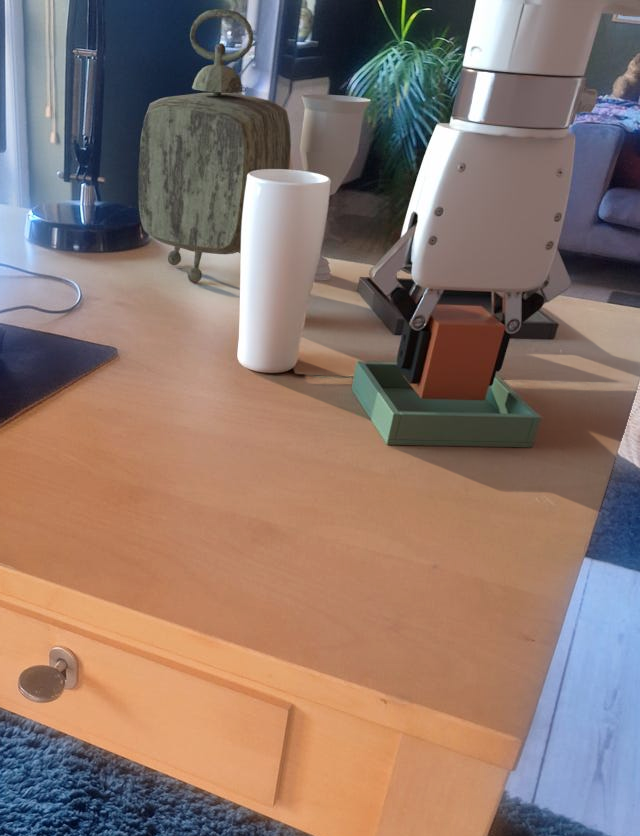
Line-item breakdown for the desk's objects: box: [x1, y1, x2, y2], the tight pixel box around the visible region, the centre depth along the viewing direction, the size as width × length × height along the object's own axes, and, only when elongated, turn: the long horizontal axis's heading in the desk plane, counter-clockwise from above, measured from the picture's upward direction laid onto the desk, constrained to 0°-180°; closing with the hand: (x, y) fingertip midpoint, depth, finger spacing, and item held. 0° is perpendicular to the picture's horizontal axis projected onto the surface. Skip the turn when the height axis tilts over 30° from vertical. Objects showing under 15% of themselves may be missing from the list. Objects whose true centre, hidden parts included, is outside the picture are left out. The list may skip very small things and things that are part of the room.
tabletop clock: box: [137, 8, 292, 284], centre depth 92 cm, size 14×9×25 cm, turn 59°
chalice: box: [299, 93, 371, 281], centre depth 97 cm, size 7×7×18 cm
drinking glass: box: [236, 169, 331, 374], centre depth 73 cm, size 7×7×15 cm
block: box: [404, 304, 505, 400], centre depth 66 cm, size 5×5×6 cm
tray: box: [351, 360, 542, 448], centre depth 69 cm, size 11×11×2 cm
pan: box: [356, 276, 559, 341], centre depth 91 cm, size 16×15×2 cm
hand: (445, 376), depth 68 cm, fingers closed on block, 5 cm apart
